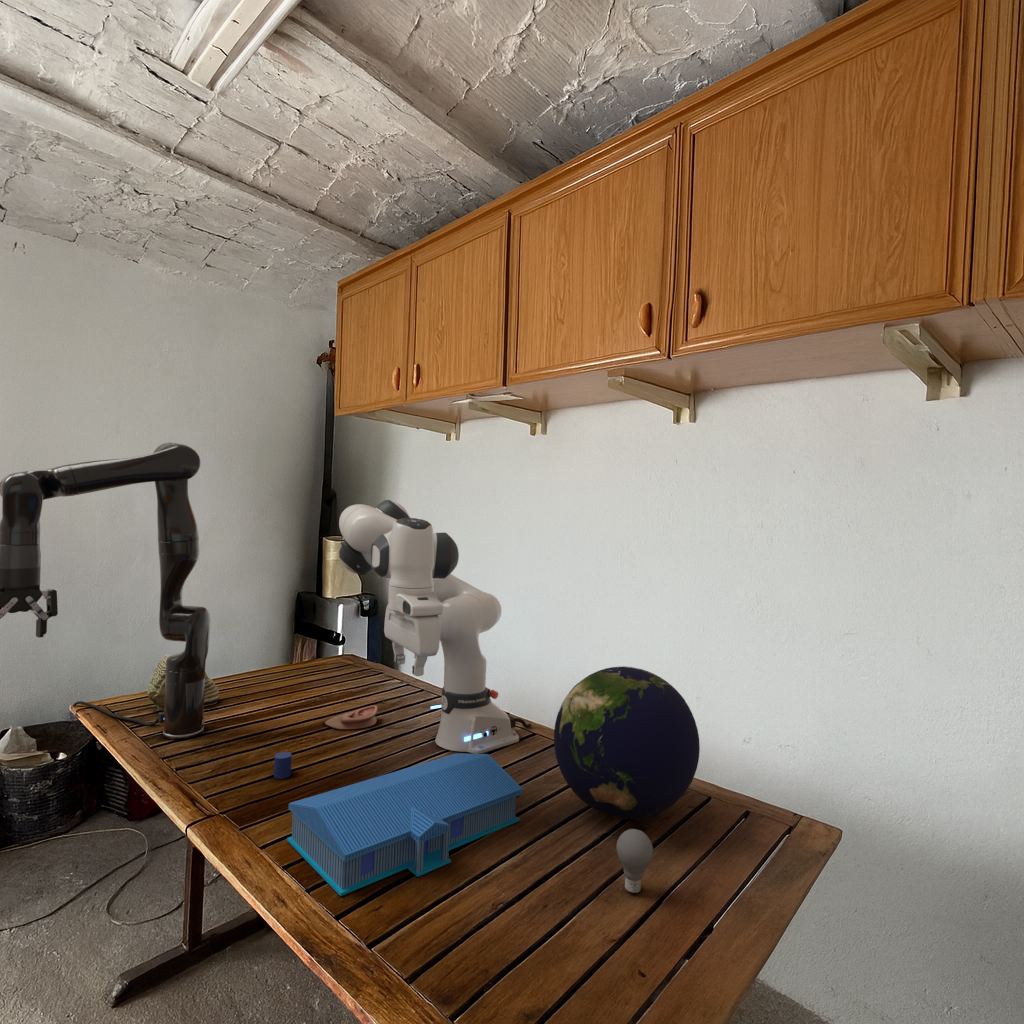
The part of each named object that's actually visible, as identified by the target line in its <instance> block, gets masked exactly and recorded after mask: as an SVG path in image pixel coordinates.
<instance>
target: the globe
mask: <svg viewBox="0 0 1024 1024" xmlns="http://www.w3.org/2000/svg"><path fill="white" fill-rule="evenodd" d="M699 735H700V734H699V729H698V726H697V722H696V720H695V717H694V714H693V713H692V710H691V708H690V706H689V704H688V703H687V702H686V700H685V698H684V697H683V696H682V694H681V693H680V692H679V691H678V690H677V688H675V687H674V686H673V685H672V684H670V682H668V681H667V680H665V679H664V678H663V677H661V676H659V675H657V674H656V673H653V672H651V671H648V670H645V669H643V668H639V667H634V666H627V665H625V666H612V667H611V666H610V667H606V668H603V669H600V670H597V671H595V672H593V673H590V674H588V675H587V676H586V677H584V678H583V679H581V680H580V681H579V682H577V683H576V684H575V685H574V686H573V687H572V688H571V689H570V690H569V692H568V693H567V694H566V696H565V698H564V699H563V701H562V703H561V705H560V707H559V710H558V712H557V715H556V718H555V723H554V730H553V746H554V754H555V759H556V762H557V765H558V768H559V770H560V772H561V775H562V776H563V779H564V780H565V782H566V784H567V785H568V787H569V788H570V789H571V791H572V792H573V794H575V795H576V796H577V798H579V800H581V801H582V802H583V803H585V804H586V805H587V806H588V807H591V809H593V810H595V811H596V812H598V813H601V814H603V815H606V816H608V817H612V818H616V819H621V820H641V819H646V818H651V817H653V816H656V815H658V814H661V813H663V812H664V811H666V810H668V809H669V808H671V807H672V806H674V805H675V803H677V802H678V801H679V800H680V799H681V798H682V797H683V796H684V794H685V793H686V792H687V790H688V789H689V787H690V786H691V784H692V782H693V781H694V778H695V775H696V772H697V769H698V766H699V760H700V736H699Z"/></svg>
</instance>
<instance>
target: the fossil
mask: <svg viewBox="0 0 1024 1024" xmlns="http://www.w3.org/2000/svg"><path fill="white" fill-rule="evenodd" d="M171 655H172V654H165V655H164V656H163V657H162V658H161V659H160V660H159V662H158V663H157V666H156V667H155V669H154V670H153V672H152V675H151V677H150V680H149V684H148V688H147V697H148V699H149V700H150V701H152V703H153V704H154V706H155V711H158V712H159V711H160V712H163V711H164V705H165V674H166V660H167V658H168V657H169V656H171ZM220 698H221V696H220V690H219V688H218V686H217V685H216V683H215V682H214V681H213V679H212V678H211V677H209V675H208V674H207V672H206V671H205V693H204V707H207V706H213V705H215V704H217V703H218V701H219V699H220Z"/></svg>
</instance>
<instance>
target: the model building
mask: <svg viewBox="0 0 1024 1024" xmlns="http://www.w3.org/2000/svg"><path fill="white" fill-rule="evenodd" d="M523 789H524V788H523V787H522V786H521V785H520V784H519V783H517V781H516V780H515V779H514V778H512V776H511V775H510V774H509V773H508V772H507V771H506V770H505V769H504V768H503V767H502V766H501V765H500V764H499V763H498V762H497V761H496V760H495V759H494V758H493V757H492V756H491V755H490V754H489V753H481V754H473V753H457V752H456V753H454V754H453V753H452V754H451V755H447V756H443V757H441V758H437V759H433V760H429V761H427V762H423V763H420V764H417V765H413V766H410V767H407V768H402V769H399V770H396V771H393V772H390V773H386V774H383V775H379V776H376V777H373V778H369V779H366V780H363V781H359V782H355V783H353V784H350V785H346V786H342V787H339V788H336V789H332V790H328V791H325V792H322V793H319V794H315V795H312V796H309V797H305V798H302V799H299V800H295V801H292V802H289V803H288V810H289V811H290V812H291V813H292V822H291V823H292V824H291V825H292V826H291V836H289V837H288V836H287V837H286V841H287V842H288V843H289V844H290V845H291V847H292V848H293V849H294V850H295V851H296V852H297V853H299V854H300V856H301V857H302V858H303V859H304V860H305V861H306V863H308V865H310V866H311V868H312V869H314V871H316V872H317V874H318V875H319V876H320V877H321V878H322V879H323V880H324V881H325V883H327V884H328V885H329V886H330V887H331V888H332V890H333V891H334V892H336V894H338V895H339V897H342V896H345V895H347V894H350V893H352V892H354V891H357V890H359V889H362V888H364V887H366V886H369V885H371V884H373V883H376V882H378V881H381V880H383V879H385V878H387V877H390V876H392V875H395V874H397V873H400V872H402V871H404V870H406V869H407V870H408V871H410V872H411V873H412V874H413V875H415V876H416V877H421V876H423V875H426V874H428V873H429V872H432V871H435V870H437V869H439V868H441V867H444V866H446V865H448V864H450V863H451V862H452V859H451V858H449V855H450V853H449V852H450V851H451V850H454V849H456V848H459V847H461V846H463V845H466V844H468V843H471V842H473V841H475V840H478V839H480V838H481V837H485V836H488V835H489V834H492V833H494V832H497V831H499V830H501V829H503V828H506V827H509V826H510V825H513V824H516V823H518V822H520V818H519V817H518V816H516V815H517V813H516V810H517V797H518V796H520V795H522V794H523V791H524V790H523Z"/></svg>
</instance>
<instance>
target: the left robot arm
mask: <svg viewBox="0 0 1024 1024" xmlns="http://www.w3.org/2000/svg"><path fill="white" fill-rule="evenodd" d="M200 468H201V458H200V456H199V453H198V452H196V450H195V449H193V448H192V447H191V446H189V445H188V444H187V445H186V444H183V443H178V442H164V443H162V444H160V445H158V446H157V447H156V448H155V449H154V450H153V452H152V453H150V454H144V455H140V456H139V455H138V456H133V457H125V458H114V459H113V458H111V459H99V460H98V459H97V460H90V461H83V462H81V461H80V462H75V463H70V464H64V465H63V464H62V465H60V466H56V467H51V468H44V469H33V470H26V471H17V472H12V473H9V474H7V475H5V476H4V477H3V478H2V479H1V480H0V496H1V499H2V502H1V504H2V507H1V509H2V512H1V520H0V620H1V619H2V618H4V617H5V616H6V615H7V613H8V614H17V613H19V612H20V613H21V612H22V613H26V612H29V611H30V612H31V613H33V614H34V616H35V617H36V618H37V619H36V620H35V637H37V638H44V636H45V635H46V634H47V632H48V630H47V629H48V620H49V619H50V618H52V617H57V616H58V614H59V612H58V611H59V609H58V591H57V590H56V589H54V588H47V589H46V590H45V589H44V590H41V567H42V566H41V565H42V563H41V562H42V551H41V515H42V510H43V503H44V500H49V499H54V498H60V497H61V498H62V497H73V496H80V495H85V494H89V493H91V494H92V493H95V492H100V491H105V490H110V489H115V488H119V487H126V486H131V485H137V484H144V483H154V485H155V486H154V487H155V491H156V501H157V503H156V505H157V507H156V508H157V509H156V517H157V521H156V522H157V547H158V548H157V549H158V550H157V551H158V560H159V578H160V581H159V582H160V590H159V591H160V595H159V612H158V613H159V615H158V616H159V617H158V624H159V625H158V626H159V632H160V635H161V637H162V638H163V639H164V640H166V641H171V642H182V643H183V642H184V643H185V645H184V650H183V651H181V652H178V653H177V652H176V653H174V654H170V655H171V656H169V657H168V658H167V660H166V674H165V705H164V710H163V711H160V712H159V711H158V713H157V714H158V716H157V718H156V719H155V720H154V721H152V722H145V721H142V720H140V719H137V718H133V717H127V716H122V715H118V714H115V713H113V712H110V711H108V710H107V709H104V708H102V707H100V706H99V705H95V704H92V703H90V702H87V701H79V700H78V701H76V702H74V703H73V704H72V705H71V706H72V707H76V706H78V705H84V706H87V707H89V708H94V709H97V710H98V711H100V712H101V713H103V714H106V715H108V716H110V717H112V718H115V719H119V720H124V721H128V722H134V723H137V724H140V725H141V726H147V727H151V726H155V725H156V724H157V723H160V724H163V730H162V737H164V738H166V739H169V740H185V739H190V738H191V739H192V738H194V737H197V736H199V735H202V734H203V732H204V730H205V729H204V727H205V725H204V724H205V722H206V717H205V706H204V693H205V672H206V664H207V663H206V662H207V658H208V654H209V644H210V632H211V614H210V612H209V610H208V609H207V608H206V607H204V606H197V605H183V589H184V586H185V582H186V581H187V579H188V578H189V576H190V574H191V573H192V571H193V569H194V568H195V566H196V564H197V562H198V561H199V557H200V537H199V529H198V524H197V521H196V517H195V514H194V512H193V509H192V505H191V501H190V496H189V480H190V479H192V478H193V477H195V476H196V475H197V473H198V472H199V471H200ZM42 597H43V599H44V600H45V601H46V602H45V605H46V611H44V610H43V608H42V606H40V605H39V604H38V602H39V600H40V599H41V598H42Z"/></svg>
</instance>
